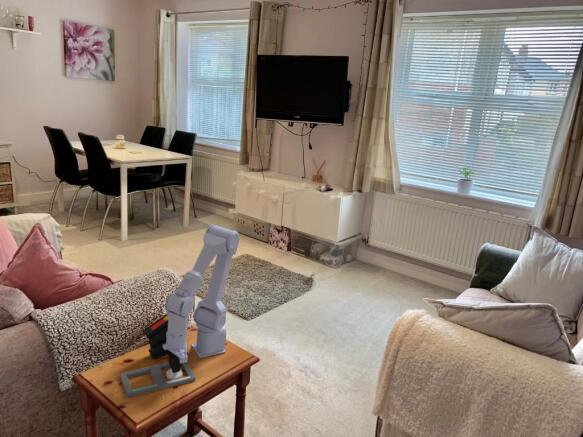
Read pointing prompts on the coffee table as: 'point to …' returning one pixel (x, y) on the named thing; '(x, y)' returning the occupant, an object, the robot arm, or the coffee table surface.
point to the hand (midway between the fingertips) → (174, 369)
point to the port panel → (155, 379)
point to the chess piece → (173, 374)
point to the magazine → (157, 337)
